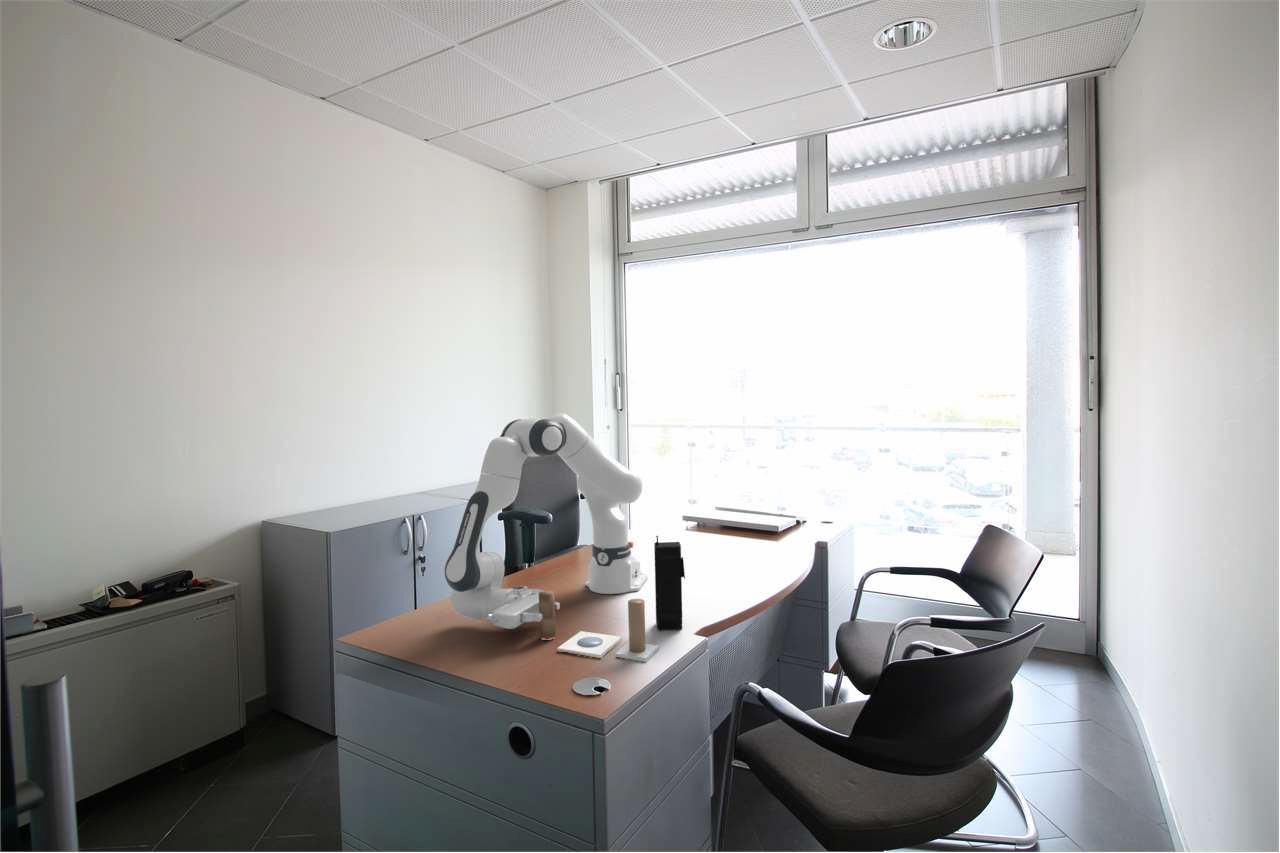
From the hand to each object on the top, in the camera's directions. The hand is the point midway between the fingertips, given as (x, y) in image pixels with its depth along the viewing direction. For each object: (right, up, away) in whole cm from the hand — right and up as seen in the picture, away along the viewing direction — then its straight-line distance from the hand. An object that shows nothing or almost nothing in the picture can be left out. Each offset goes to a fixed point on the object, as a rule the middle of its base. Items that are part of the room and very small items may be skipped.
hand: (550, 612), depth 177 cm
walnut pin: (-1, -7, +1) cm, 7 cm away
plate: (+11, -7, -5) cm, 14 cm away
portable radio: (+32, -6, +7) cm, 33 cm away
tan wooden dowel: (+23, -7, -11) cm, 26 cm away
